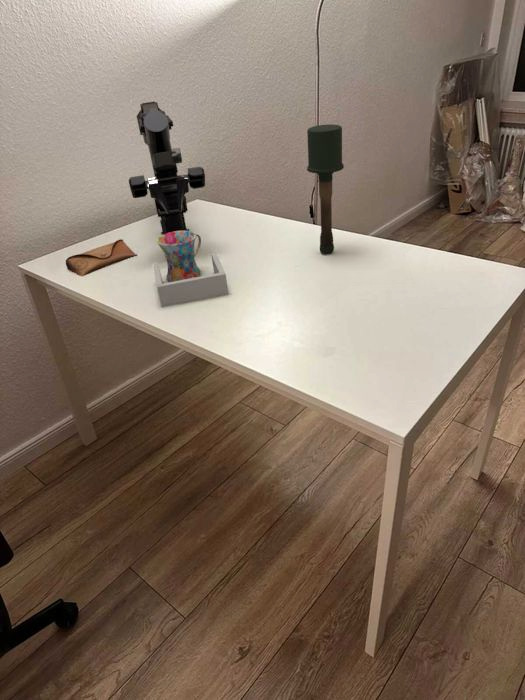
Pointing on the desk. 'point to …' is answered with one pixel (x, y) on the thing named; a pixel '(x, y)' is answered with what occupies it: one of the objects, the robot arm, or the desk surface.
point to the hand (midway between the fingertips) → (174, 212)
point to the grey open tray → (192, 286)
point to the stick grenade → (325, 173)
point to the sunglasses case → (99, 258)
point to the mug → (180, 254)
